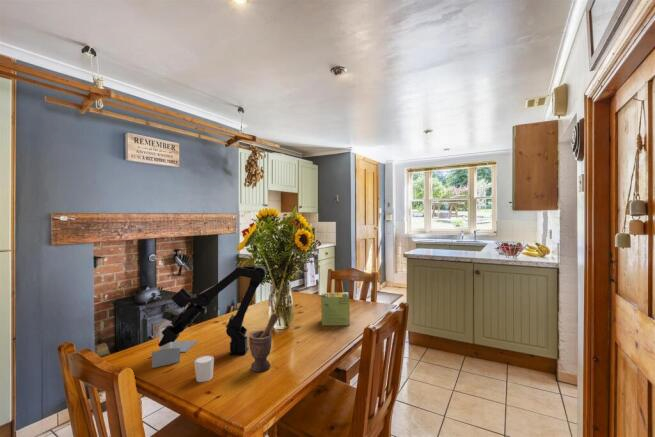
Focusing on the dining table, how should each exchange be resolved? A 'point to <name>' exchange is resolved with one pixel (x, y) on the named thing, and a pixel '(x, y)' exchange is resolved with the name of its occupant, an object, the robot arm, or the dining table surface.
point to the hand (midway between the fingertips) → (162, 342)
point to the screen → (165, 357)
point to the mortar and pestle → (262, 346)
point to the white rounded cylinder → (166, 346)
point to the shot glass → (204, 368)
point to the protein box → (335, 308)
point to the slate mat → (183, 345)
